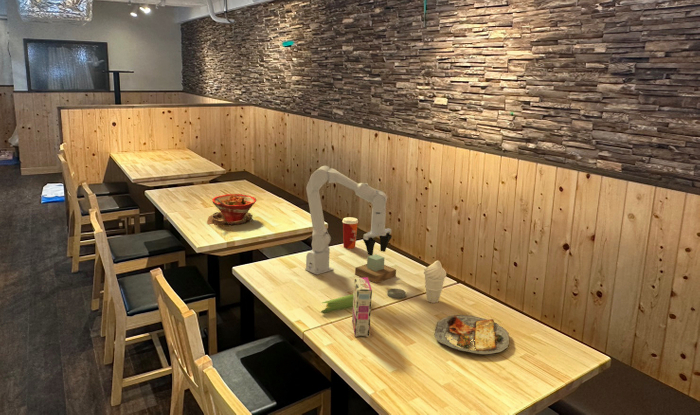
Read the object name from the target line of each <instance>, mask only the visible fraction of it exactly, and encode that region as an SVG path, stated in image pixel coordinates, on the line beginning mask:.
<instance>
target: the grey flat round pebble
mask: <svg viewBox="0 0 700 415" xmlns="http://www.w3.org/2000/svg"><path fill="white" fill-rule="evenodd" d="M386 293H387V294H386V295H387V296H388V297H389V298H391V299H394V300H400V299H402V300H403V299H404V298H406V295H407V294H406V293H407V292H406V291H405V290H404V289H402V288H390V289H388V290H387V292H386Z"/></svg>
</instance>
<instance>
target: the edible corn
mask: <svg viewBox="0 0 700 415" xmlns="http://www.w3.org/2000/svg"><path fill="white" fill-rule="evenodd" d="M353 295H354V293H351V294H348V295H344V296H341V297H337V298H334V299H329V300H326V301H322V302H321V304H326V305H325V309H323V310H321V311H320V313H322V314H325V313H330V312H336V311H341V310H342V311H343V310H346V309H351V308H352V309H353Z"/></svg>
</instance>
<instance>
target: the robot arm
mask: <svg viewBox="0 0 700 415" xmlns="http://www.w3.org/2000/svg"><path fill="white" fill-rule="evenodd" d="M327 182H328V184H334V183H338V184H340V185H341V186H344V187H346V188H348V189H350V190H351V191H352V190H353V191H354V193H355V196H357V197H359V198H360V199H362V200H364V201H366V202H368V203H371V206H372V210H371V221H370V231H368V232H366V233H364V234H363V235H362V236H363V237H362V240H363V243H364V245H365V247H366V251H367V255H368V256H372V255H374V250H375V244H376V240H374V239H375V238H377V237H379V242H380V245H379V246H380V247H379V248H380V252H383V253H385V252H386V251H387V247H388V245H389V243H390V240H391V239H392V237H393V236H392V228H389V227H388V228H386V217H387V210H386V209H387V201H388V195H387V194H386V193H385V192H384V191H383V190H379V189H377V188H376V189H375V188H373V187H372V186H370V185H369V183H367V182H365V183H364V182H359V183H358V182H356V181H355V180H353V179H352V178H349V177H348V176H346V175H345V174H343V173H341V172H340V171H338V170H336V168H332V167H330V166H329V165H321V166H320V167H318V169H316V170H315V171H314V172H313V173H311V175H310V178H309V180H308V181H307V185H306V187H305V189H306V195H307V196H306V197H307V201H308V206H309V207H308V208H309V213H310V214H309V215H310V219H311V226H312V234H311V237H312V241H311V248H312V249H311V251H309V252H308V253H307V254H306V259H305V262H306V264H305V268H304V270H306V271H307V272H310V273H312V274H314V275H316V276H317V275H320V274H324V273H328V272H330V271H333V270H334V268H332V267H330V251H331V250H330V246H329V245H330V243H331V240H332V237H331V235H330V234H329V232H328V228H327V227H326V224H325V218H324V217H325V216H324V213H323V212H324V211H323V208H322V206H323V205H322V199H321V193H320V189H321V188H322V186H323V185H325V184H326V183H327Z"/></svg>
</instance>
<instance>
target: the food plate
mask: <svg viewBox="0 0 700 415" xmlns="http://www.w3.org/2000/svg"><path fill="white" fill-rule="evenodd" d="M470 332H471V333H472V334H471V333H470ZM433 336H434V338H435V339H436V341H437V342H439V343H441V344H442V345H446V346H448V347H449V348H452V349H454V350H458V351H460V352H467V353H471V354H479V355H491V354H496V353H500V352H503V351H505V350H506V349H508V347H509V344H510V343H509V342H510V341H509V340H510V334H509V332H508V331H507V329H506V328H504V327H502V326H501V325H500V324H498V323H497V322H495V320H494V319H492V318H491V319H486V318H482V317H478V316H475V315H469V314H468V315H465V314H459V315H458V314H457V315H455V314H454V315H448V316H446V317H444V318H440V319H439V320H438V321H437V322H436V326H435V329H434V332H433ZM471 336H472V337H471ZM449 337H450V338H451V339H449ZM472 339H473V341H471V340H472ZM474 340H475V341H474ZM451 341H453V342H455V341H456V345H455V344H454V343H452V342H451ZM470 341H471V342H472V343H473V342H474V345H475V346H474V345H473V348H474V347H475V348H474V349H469V348H470V346H471V344H470ZM462 347H463V348H462ZM468 347H469V348H468ZM475 349H476V350H475Z"/></svg>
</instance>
